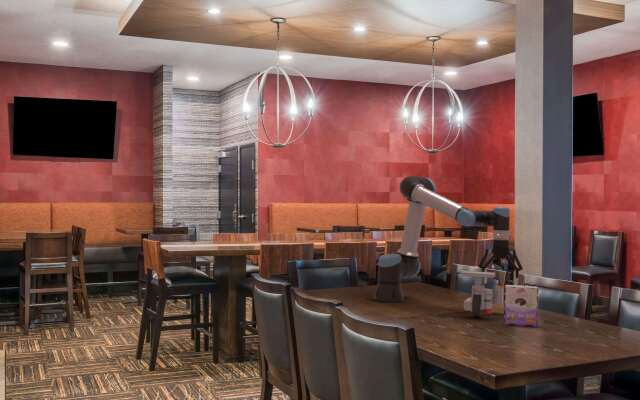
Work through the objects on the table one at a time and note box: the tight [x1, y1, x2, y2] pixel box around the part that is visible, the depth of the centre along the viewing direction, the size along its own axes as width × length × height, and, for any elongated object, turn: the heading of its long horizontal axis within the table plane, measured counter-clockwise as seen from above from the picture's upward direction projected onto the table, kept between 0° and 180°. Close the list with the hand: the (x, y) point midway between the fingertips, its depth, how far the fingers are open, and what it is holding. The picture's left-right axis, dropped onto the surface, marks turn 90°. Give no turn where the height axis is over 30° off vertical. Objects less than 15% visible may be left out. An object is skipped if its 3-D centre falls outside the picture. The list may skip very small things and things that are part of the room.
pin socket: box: [492, 303, 504, 315], centre depth 327 cm, size 9×9×3 cm
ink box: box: [470, 287, 494, 316], centre depth 319 cm, size 8×5×12 cm, turn 39°
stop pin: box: [493, 285, 505, 306], centre depth 327 cm, size 4×4×12 cm
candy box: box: [503, 284, 539, 328], centre depth 292 cm, size 14×6×16 cm, turn 71°
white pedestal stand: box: [460, 270, 496, 318], centre depth 309 cm, size 14×10×20 cm
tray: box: [463, 296, 472, 312], centre depth 333 cm, size 16×10×4 cm, turn 157°
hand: (500, 284), depth 327 cm, fingers open, 13 cm apart
